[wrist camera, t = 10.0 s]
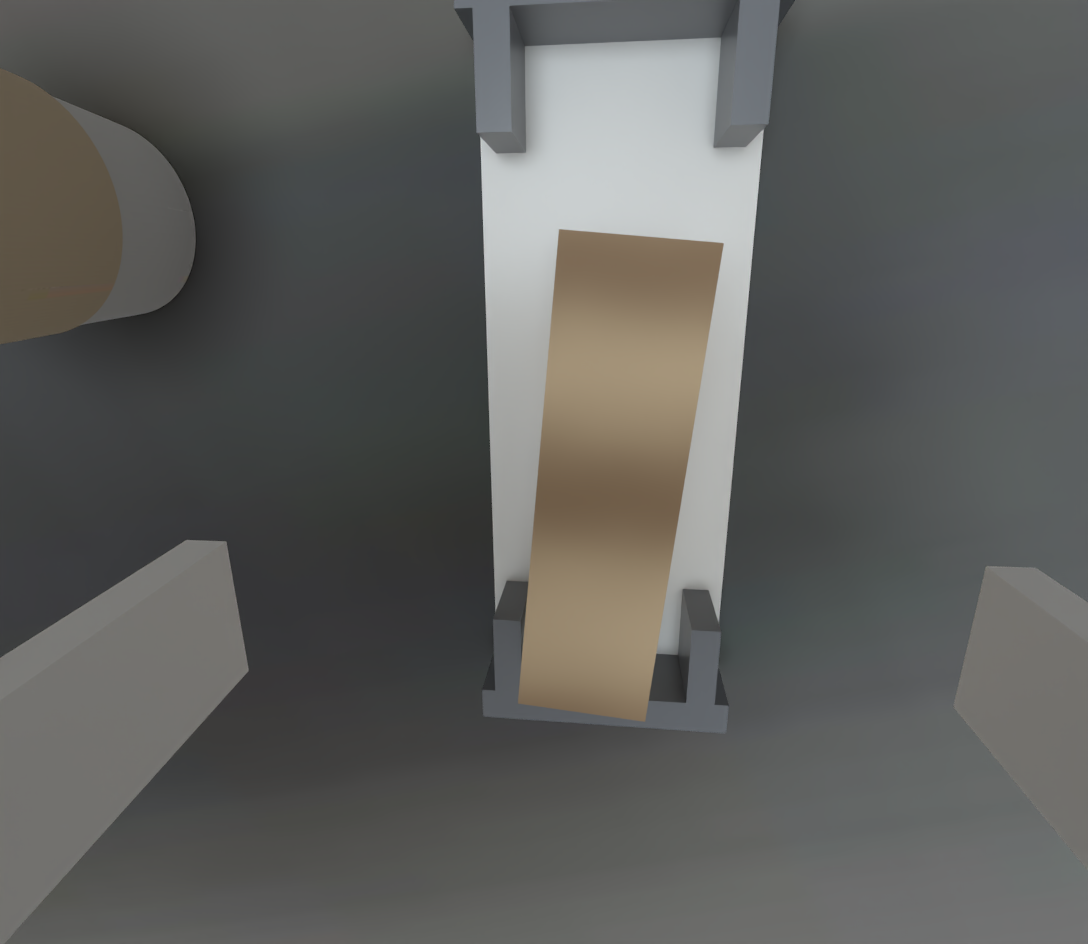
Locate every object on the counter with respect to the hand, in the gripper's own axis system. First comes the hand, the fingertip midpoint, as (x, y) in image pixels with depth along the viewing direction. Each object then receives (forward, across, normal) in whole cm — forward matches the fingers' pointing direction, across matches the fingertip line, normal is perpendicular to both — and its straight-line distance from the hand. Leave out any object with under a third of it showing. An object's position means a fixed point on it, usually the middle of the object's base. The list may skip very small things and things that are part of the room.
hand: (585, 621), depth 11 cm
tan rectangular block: (+12, +1, 0) cm, 13 cm away
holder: (+14, +1, +2) cm, 14 cm away
